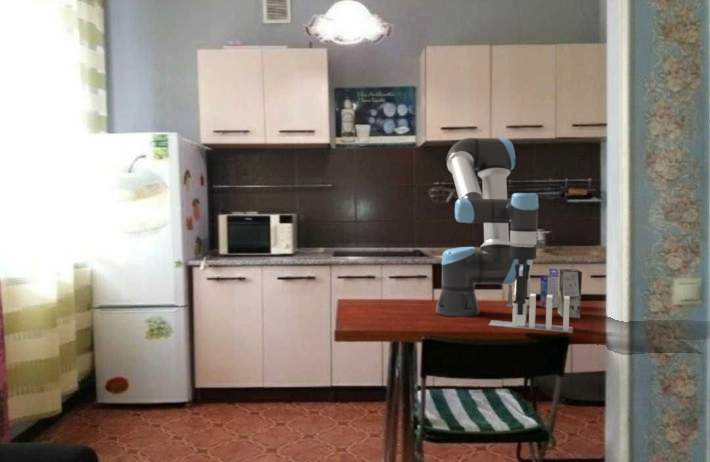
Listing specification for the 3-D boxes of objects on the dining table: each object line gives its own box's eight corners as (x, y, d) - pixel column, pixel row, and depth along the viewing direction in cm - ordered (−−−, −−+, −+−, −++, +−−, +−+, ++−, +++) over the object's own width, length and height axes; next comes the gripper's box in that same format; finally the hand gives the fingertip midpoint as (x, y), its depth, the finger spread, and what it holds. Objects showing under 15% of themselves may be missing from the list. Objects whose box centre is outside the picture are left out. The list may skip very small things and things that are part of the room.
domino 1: (512, 326, 173) (513, 294, 173) (513, 322, 178) (514, 292, 178) (517, 326, 173) (518, 295, 172) (518, 323, 177) (519, 292, 177)
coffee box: (581, 318, 189) (582, 271, 188) (561, 317, 190) (562, 271, 189) (575, 313, 198) (577, 268, 197) (557, 312, 199) (558, 268, 198)
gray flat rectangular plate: (488, 326, 175) (488, 325, 175) (491, 321, 182) (491, 320, 182) (572, 333, 166) (572, 332, 166) (572, 328, 173) (572, 327, 173)
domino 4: (562, 330, 168) (564, 298, 168) (563, 327, 173) (564, 295, 172) (568, 331, 167) (569, 298, 167) (568, 327, 172) (569, 296, 172)
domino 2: (528, 327, 172) (529, 295, 171) (529, 324, 176) (530, 293, 176) (534, 328, 171) (535, 296, 171) (535, 324, 176) (535, 293, 175)
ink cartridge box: (561, 305, 214) (562, 268, 213) (570, 307, 208) (571, 269, 208) (538, 305, 211) (540, 268, 210) (547, 308, 206) (548, 270, 205)
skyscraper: (515, 302, 217) (517, 232, 216) (535, 305, 212) (537, 233, 210) (506, 305, 211) (508, 233, 209) (527, 308, 205) (529, 234, 204)
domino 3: (545, 329, 170) (546, 297, 169) (546, 325, 174) (547, 294, 174) (551, 329, 169) (552, 297, 169) (551, 326, 174) (552, 295, 173)
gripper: (535, 248, 152) (532, 331, 153) (538, 243, 169) (535, 318, 170) (507, 247, 155) (504, 328, 156) (512, 242, 171) (510, 315, 173)
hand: (520, 322), depth 163 cm, fingers closed on teal domino, 5 cm apart
